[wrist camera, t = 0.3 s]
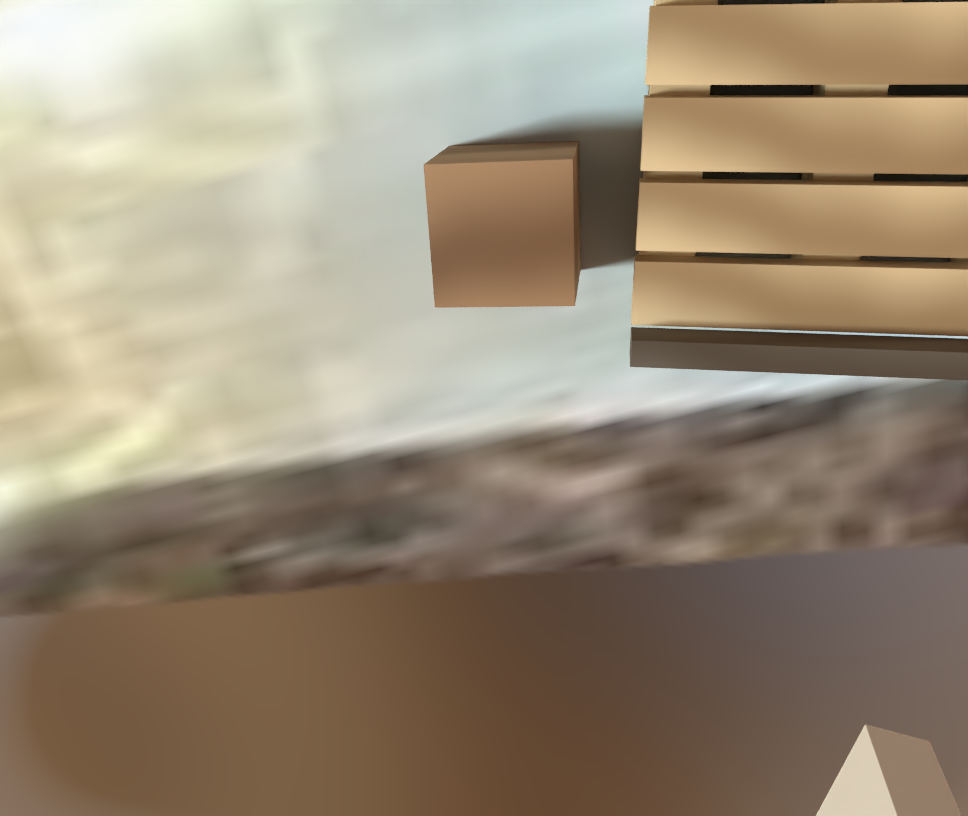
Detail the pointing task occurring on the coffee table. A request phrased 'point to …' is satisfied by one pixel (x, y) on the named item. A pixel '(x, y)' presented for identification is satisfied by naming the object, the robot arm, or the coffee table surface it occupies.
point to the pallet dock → (803, 190)
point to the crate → (504, 224)
